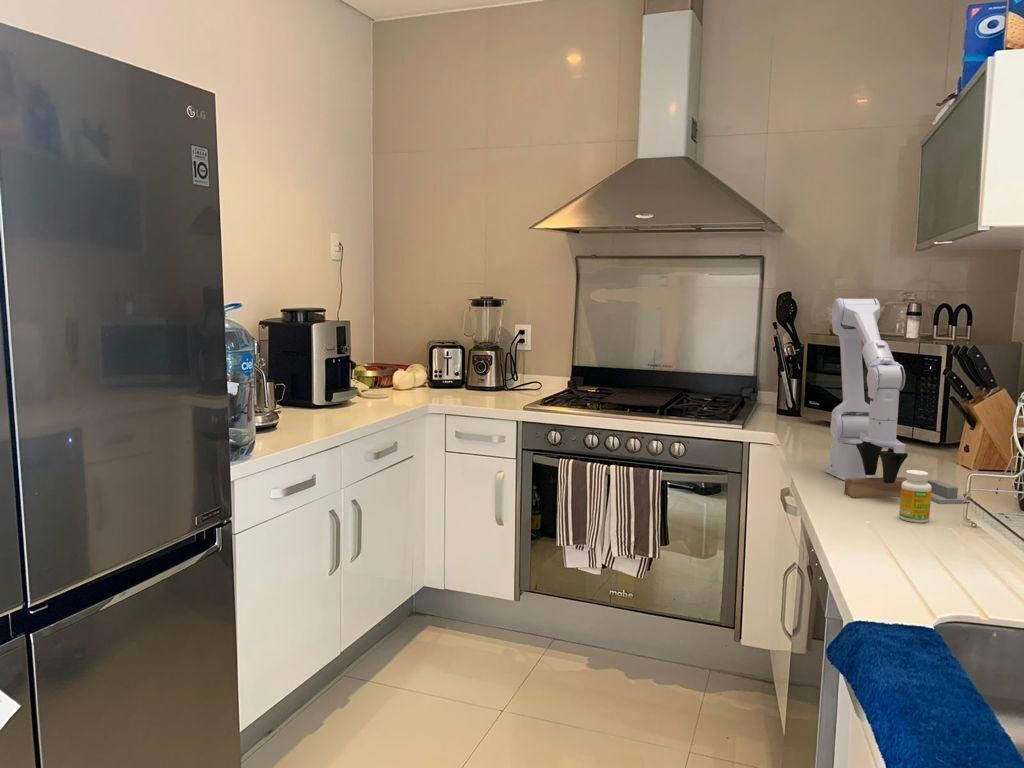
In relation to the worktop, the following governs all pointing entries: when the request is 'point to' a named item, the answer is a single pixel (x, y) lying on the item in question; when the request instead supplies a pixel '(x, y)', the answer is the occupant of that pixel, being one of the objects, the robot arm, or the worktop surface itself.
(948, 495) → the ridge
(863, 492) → the beam
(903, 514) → the supplement bottle
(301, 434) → the worktop surface
